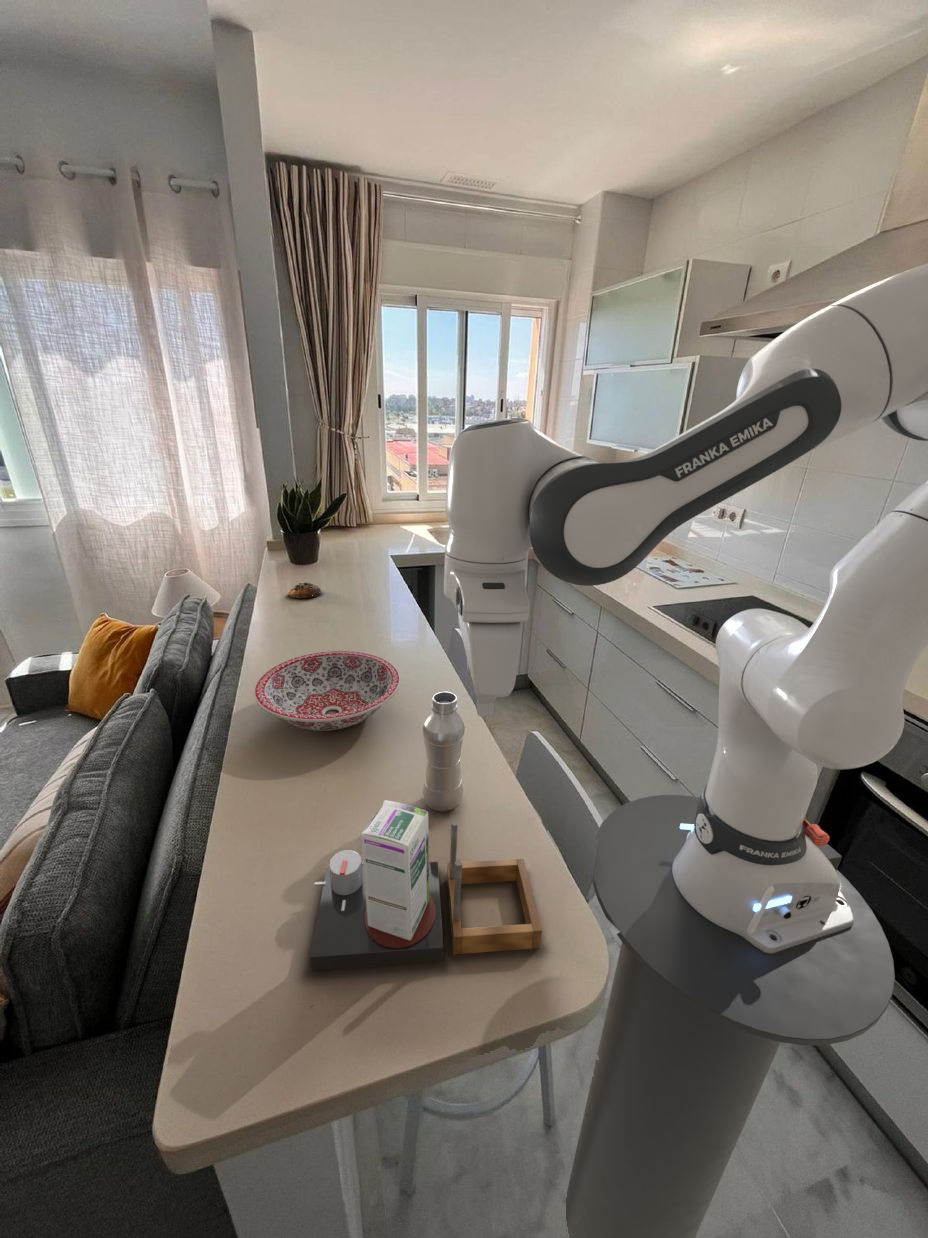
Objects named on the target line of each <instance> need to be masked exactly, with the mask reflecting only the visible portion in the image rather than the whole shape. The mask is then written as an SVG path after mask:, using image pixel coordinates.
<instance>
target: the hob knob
mask: <svg viewBox="0 0 928 1238" xmlns="http://www.w3.org/2000/svg"><path fill="white" fill-rule="evenodd" d="M328 863H329V864H328V868H329V869H330V880H331V888H332V890H333V891H334V892H335V893H336V894H338V895H350V894H352V893H354V892H356V891H357V890H358V889H359V888H360V886H361V884H362V866H363V861H362V857H361V854H359V853H358V852H357V851H355V850H353V849H343V850H339V851H338V852H336V853H335V854H333V855H332V857H331V859H330V860H329V862H328Z"/></svg>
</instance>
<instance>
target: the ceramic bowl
mask: <svg viewBox="0 0 928 1238" xmlns="http://www.w3.org/2000/svg"><path fill="white" fill-rule="evenodd" d="M400 685H401V675H400V672H399V671H398V669H397V667H396V666H395V665H393V664H392V663H391V662H389V661H388V660H387V659H384V658H382V657H380V656H377V655H374V654H370V653H367V652H360V651H353V650H352V651H351V650H349V651H348V650H329V651H319V652H313V653H309V654H303V655H300V656H296V657H294V658H290V659H288V660H286V661H283V662H281V663H278V664H276V665H275V666H273V667H272V668H270V669H268V670H267V671H266V672H265V673H263V674H262V676H260V678H258V680H257V681H256V683H255V685H254V690H253V695H254V699H255V702H256V704H257V705H258V706H259V707H260V708H261V709H262V710H263V711H265V712H266V713H268V714H270V715H271V716H274V717H277V718H279V719H280V720H282V721H283V722H285V723H287V724H288V725H290V726H293V727H296V728H300V729H303V730H308V731H318V732H319V731H321V732H323V731H325V732H326V731H335V730H342V729H345V728H349V727H352V726H355V725H357V724H359V723H361V722H363V721H365V720H367V719H368V718H369V717H372V716H373V715H374V714H375V713H376V712H377V711H378V710H379V709H380V708H381V707H383V705H384V704H386V703H388V702H389V701H390V700H391V699H392V698H393V697H395V695H396V694H397V692H398V690H399V688H400ZM334 710H335V711H338V712H336V713H328V714H327V712H328V711H334Z"/></svg>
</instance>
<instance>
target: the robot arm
mask: <svg viewBox="0 0 928 1238" xmlns="http://www.w3.org/2000/svg"><path fill="white" fill-rule="evenodd" d="M879 420H882V421H883V423H884V424H885V425H886V426H887V427H888V428H890V430H893V432H896V433H897V434H899V435H901V436H903V437H905V438H909V439H912V440H916V441H921V442H923V441H924V442H928V263H927V262H926V263H925V264H921V265H918V266H916V267H913V268H910V269H907V270H905V271H902V272H899V273H897V274H894V275H891V276H889V277H886V278H884V279H882V280H879V281H877V282H874V283H873V284H870V285H867V286H865V287H863V288H862V289H859V290H857V291H855V292H853V293H851V294H848V295H847V296H845V297H843V298H841V299H839V300H837V301H835V302H833V303H831V304H829V305H827V306H826V307H823V308H822V309H819V310H818V311H816V312H814V313H813V314H810V315H809V316H807V317H806V318H804V319H802V320H801V321H800V322H797V323H796V324H794V325H793V326H791V327H790V328H788V329H786V330H785V331H784V332H782V333H781V334H779V335H778V336H777V337H775V338H774V339H773V340H771V341H770V342H769V343H767V344H766V345H764V346H763V347H762V348H760V349H759V350H758V351H757V352H756V353H754V354H753V355H752V356H751V357H750V358H749V359H748V360H747V362H746V364H745V366H744V367H743V369H742V371H741V374H740V377H739V379H738V383H737V387H736V399H735V400H734V401H733V402H732V403H730V404H729V405H728V406H727V407H725V408H724V409H722V410H720V411H719V412H717V413H716V414H714V415H712V416H710V417H708V418H707V419H705V420H703V421H701V422H700V423H698V424H696V425H695V426H692V427H691V428H689V429H687V430H685V431H684V432H682V433H680V434H678V435H677V436H675V437H673V438H671V439H669V440H667V441H666V442H664V443H662V444H661V445H659V446H657V447H655V448H653V449H652V450H650V451H648V452H647V453H645V454H642V455H640V456H637V457H634V458H631V459H627V460H621V461H613V462H609V461H608V462H601V461H598V460H595V459H592V458H590V457H588V456H585V455H583V454H581V453H578V452H576V451H574V450H572V449H570V448H569V447H566V446H564V445H563V444H561V443H559V442H557V441H555V440H554V439H553V438H551V437H549V436H548V435H546V434H545V433H543V432H542V431H541V430H540V429H538V428H537V427H536V426H535V425H534V424H533V422H531V421H530V420H529V419H527V418H525V417H524V418H523V417H510V418H503V419H495V420H489V421H482V422H478V423H472V424H471V425H468V426H467V427H465V428H464V429H462V430H461V431H460V432H459V433H458V435H456V437H455V438H454V440H453V442H452V444H451V447H450V452H449V458H448V466H447V474H446V490H445V513H446V517H447V522H448V536H447V540H446V543H445V546H444V573H443V574H444V575H443V576H444V577H443V594H444V596H445V597H446V598H447V599H449V600H450V601H451V602H452V604H453V605H454V609H455V610H456V611H457V612H458V616H457V617H458V625H459V629H460V633H461V638H462V643H463V648H464V651H465V655H466V669H467V673H468V675H469V676H471V681H472V685H473V690H474V694H475V708H476V714H477V716H478V717H492V716H493V715H494V712H495V703H496V700H497V698H507V697H509V696H510V695H511V694H512V693H513V690H514V688H515V685H516V681H517V680H516V679H517V674H518V668H519V667H518V666H519V660H520V654H521V647H522V637H523V627H522V623H527V622H528V621H529V619H530V614H531V613H530V612H531V603H530V597H529V594H528V587H527V583H528V582H527V581H528V573H527V571H528V562H529V561H528V560H529V550H530V549H532V550H533V553H534V555H535V557H536V558H537V560H538V562H539V563H540V565H542V567H543V568H544V569H545V570H546V571H547V572H548V573H550V574H551V575H553V576H554V577H556V578H557V579H559V580H561V581H563V582H566V583H568V584H570V585H571V584H572V585H576V586H583V587H584V586H585V587H591V586H592V587H593V586H601V585H606V584H609V583H612V582H615V581H617V580H620V579H621V578H623V577H624V576H626V575H628V574H629V573H631V572H632V571H633V570H634V569H635V568H637V567H638V566H639V565H640V564H641V563H642V562H644V560H645V559H646V558H647V557H648V556H649V555H650V554H651V552H652V551H654V549H655V548H656V547H657V546H659V544H660V543H661V542H662V541H663V540H664V539H665V538H666V537H668V536H669V535H670V534H671V533H672V532H674V531H675V530H676V529H677V528H679V527H681V526H682V525H683V524H685V523H687V522H688V521H690V520H691V519H693V518H695V517H697V516H698V515H701V514H703V513H704V512H706V511H708V510H710V509H711V508H714V507H715V506H716V505H718V504H720V503H722V502H724V501H726V500H727V499H729V498H731V497H733V496H735V495H736V494H739V493H740V492H741V491H744V490H745V489H747V488H749V487H751V486H752V485H754V484H757V483H758V482H760V481H762V480H763V479H765V478H767V477H768V476H771V475H772V474H774V473H776V472H777V471H779V470H781V469H782V468H784V467H786V466H788V465H789V464H791V463H793V462H795V461H796V460H798V459H799V458H801V457H803V456H805V455H807V454H809V453H811V452H813V451H814V450H816V449H820V448H821V447H824V446H825V445H828V444H831V443H833V442H834V441H837V440H839V439H842V438H844V437H846V436H848V435H851V434H852V433H854V432H857V431H859V430H861V429H863V428H865V427H867V426H869V425H870V424H872V423H875V422H877V421H879ZM828 582H829V593H828V596H827V599H826V601H825V603H824V605H823V607H822V609H821V611H820V612H819V614H818V616H817V618H816V619H815V620H814V622H813V623H812V625H811V626H810V627H808V626H807V625H806V624H804V623H803V622H802V621H800V620H799V619H796V618H795V617H793V616H790V615H788V614H785V613H782V612H778V611H774V610H770V609H766V608H749V609H745V610H742V611H740V612H737V613H736V614H734V615H732V616H731V617H729V618H728V619H727V620H726V621H725V622H723V624H722V626H721V627H720V629H719V630H718V632H717V636H716V638H715V651H716V656H717V660H718V661H717V662H718V671H719V681H718V682H719V683H718V685H719V686H718V724H717V725H718V727H717V741H716V748H715V752H714V756H713V760H712V765H711V768H710V773H709V777H708V781H707V784H706V785H705V786H703V789H702V791H701V793H700V797H699V798H700V799H699V802H698V806H697V810H696V817H695V823H694V825H693V824H681V825H680V829H688V830H691V832H689V833H688V835H687V838H686V841H685V844H684V845H683V847H682V849H681V850H680V852H679V853H678V855H677V856H676V857H675V859H674V862H673V865H672V873H673V878H674V881H675V884H676V886H677V888H678V890H679V891H680V893H681V894H682V896H683V897H684V898H685V900H686V901H687V902H688V903H689V904H690V905H691V906H692V907H693V908H694V909H695V910H696V911H697V912H699V913H700V914H701V915H702V916H704V917H705V918H707V919H708V920H710V921H711V922H713V923H715V924H716V925H718V926H720V927H722V928H724V929H727V930H729V931H731V932H734V933H736V934H738V935H740V936H742V937H743V938H745V939H746V940H747V941H749V942H750V943H751V944H753V945H754V946H755V947H757V948H758V949H760V950H762V951H763V952H766V953H769V954H772V953H776V952H779V951H782V950H785V949H788V948H791V947H794V946H796V945H799V944H802V943H805V942H808V941H811V940H814V939H817V938H820V937H823V936H826V935H829V934H832V933H835V932H838V931H841V930H844V929H846V928H849V927H851V926H853V923H854V916H853V912H852V910H851V907H850V905H849V903H848V902H847V900H846V898H845V897H844V895H843V894H842V893H841V891H840V890H839V889H840V882H839V877H838V875H837V872H836V870H838V868H839V866H840V863H841V861H842V858H843V856H842V855H841V854H840V853H839V852H837V851H836V849H834V848H833V847H832V846H831V845H829V844H828V843H829V841H830V838H831V837H830V835H829V834H828V833H827V832H826V831H824V830H822V829H821V827H820V826H819V825H818V824H816V823H810V822H809V821H808V820H807V819H806V818H807V817H806V815H807V812H808V809H809V807H810V804H811V802H812V799H813V797H814V794H815V791H816V789H817V785H818V779H819V777H818V775H819V774H818V773H819V771H818V766H819V767H822V768H826V769H831V770H851V769H859V768H862V767H866V766H868V765H870V764H871V765H872V764H873V763H875V762H878V761H879V760H881V759H882V758H883V757H885V756H886V755H887V754H889V753H890V752H891V751H892V750H893V749H894V748H895V747H896V745H897V744H898V742H899V740H900V738H901V736H902V735H903V732H904V728H905V713H904V703H903V702H904V694H905V689H906V684H907V682H908V679H909V677H910V675H911V673H912V671H913V668H914V667H915V665H916V664H917V662H918V660H919V658H920V656H921V655H922V653H923V652H924V651H925V650H926V648H927V646H928V479H927V480H926V481H925V482H924V483H921V485H919V486H918V487H917V488H916V489H915V490H914V491H913V492H911V493H910V494H908V495H907V497H905V498H904V499H903V500H902V501H900V503H899V504H898V505H896V506H895V507H893V509H892V510H891V511H890V512H889V513H888V514H887V515H886V516H884V518H882V520H880V522H878V523H877V524H876V525H875V526H874V527H873V528H872V529H871V530H870V531H869V532H868V533H867V534H866V535H865V536H864V537H862V539H861V540H860V541H858V543H856V545H854V547H852V548H851V549H850V550H849V551H848V552H847V553H846V554H845V555H844V556H843V557H842V558H841V559H840V560H839V561H837V562H836V564H835V565H834V566H833V568H832V569H831V571H830V574H829V579H828ZM771 938H772V939H774V940H775V941H774V940H772V939H771Z"/></svg>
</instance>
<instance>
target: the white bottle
mask: <svg viewBox="0 0 928 1238" xmlns="http://www.w3.org/2000/svg"><path fill="white" fill-rule="evenodd" d="M457 700H458V697H457V695H456V694H455V693H453V692H450V691H440V692H437V693H435V694H434V695H433V696H432V703H431V712H430V713H429V714H428V716H427V717H426V718H425V720H424V723H423V725H422V736H423V740H424V741H423V742H424V746H425V755H426V756H425V757H426V758H425V759H426V766H425V778H424V780H423V786H422V796H423V800H424V802H425V804H426V805H427V806H428V808H430V809H431V810H434V811H438V812H448V811H452V810H453V809H455V808H456V807H457V806H458V805H459V804H460V803H461V801H462V798H463V794H464V785H463V784H464V783H463V779H462V774H461V772H462V771H461V756H462V746H463V740H464V735H465V728H466V726H465V723H464V720H463V718H462V717H461V715H460V713H458V712H457V710H458V701H457Z"/></svg>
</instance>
